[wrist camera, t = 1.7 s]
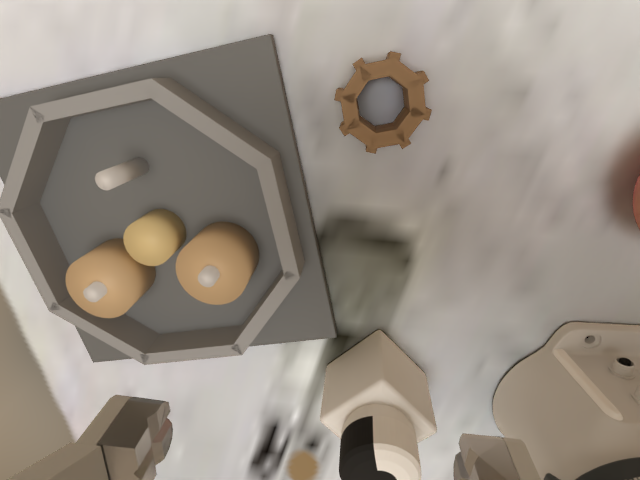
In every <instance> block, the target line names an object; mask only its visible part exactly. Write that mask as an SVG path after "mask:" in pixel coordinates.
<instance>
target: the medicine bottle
mask: <svg viewBox="0 0 640 480" xmlns="http://www.w3.org/2000/svg"><path fill="white" fill-rule="evenodd" d="M320 421H321V422H322V423H323V424H324V425H325V426H326V427H327V428H329V429H330V430H331V431H332V432H333V433H334V434H336V435H337V436H338V437H339V438H340V439H341V446H340V462H339V474H340V477H341V480H421V466H420V460H419V453H418V446H417V443H419V442H420V441H422V440H424V439H426V438H428V437H429V436H431V435H433V434H435V433H436V432H437V427H436V422H435V417H434V412H433V408H432V403H431V398H430V393H429V388H428V383H427V378H426V375H425V373H424V372H423V371H422V370H421V369H420V368H419V367H418V366H417V365H416V364H415V363H414V362H413V361H412V360H411V359H410V358H409V357H408V356H407V355H406V354H405V353H404V352H403V351H402V350H401V349H400V348H399V347H398V346H397V345H396V344H395V343H394V342H393V341H392V340H391V339H390V338H388V337H387V336H386V335H385V334H384V333H383V332H382V331H381V330H377V331H376V332H374V333H373V334H371V335H370V336H368V337H367V338H365V339H364V340H363V341H361V342H360V343H358V344H357V345H355V346H354V347H353V348H351V349H350V350H348V351H347V352H345V353H344V354H343V355H341V356H340V357H338V358H337V359H335V360H334V361H332V362H331V363H330V364H328V365H327V367H326V375H325V383H324V391H323V399H322V407H321V415H320Z"/></svg>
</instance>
